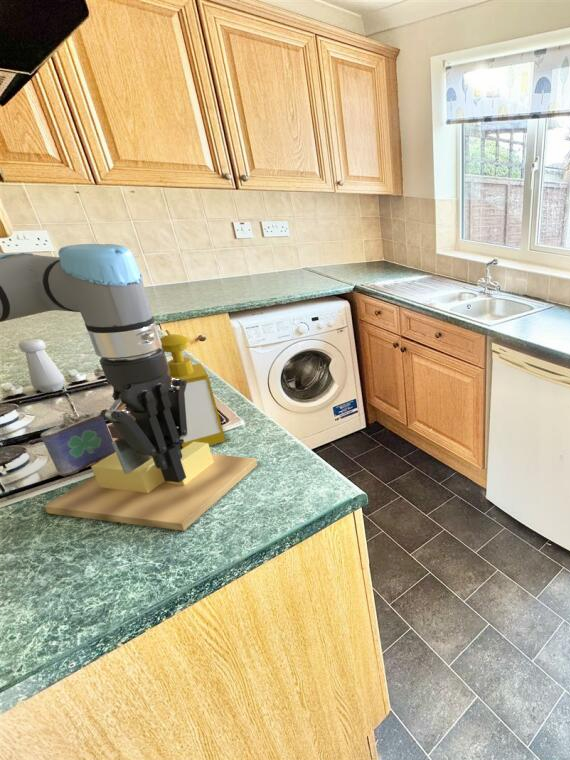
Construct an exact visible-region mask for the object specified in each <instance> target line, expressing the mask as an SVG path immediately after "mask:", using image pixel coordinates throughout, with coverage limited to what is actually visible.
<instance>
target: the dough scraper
mask: <svg viewBox="0 0 570 760" xmlns="http://www.w3.org/2000/svg"><path fill="white" fill-rule="evenodd" d="M129 416H131V417H132V418H133V419H134V420H135V422H136V419H135V417H134V416H132V415H131V413H130V415H129ZM136 423H137V422H136ZM107 427H108V430H109V433H110V435H111V438H112V439H115V440H113V442H112V444H113V447H114V449H115V451H116V454H117V456H118V459H119V461H120V464H121V466H122V469H123V471H124V473H125V474H129V473H130V472H132V471H133V470H135V469H136V468H138V467H139V466H141V465H142V464H144V463H146V462H147V461H149V460H150V459H152V456H147V455H139V454H136V453H135V452H134V450H133V449H132V448H131V446H130V445H129V444H128V443H127V441H126V440H125V439H124V437H123V436H122V435H121V434H120V432H119V431H118V430H117V428H116V427H115V426H114V425H113V423H110V424H109V425H107ZM177 428H178V427H177ZM187 435H188V434H186V435H185V436H181V438H180V439H183V438H184V437H186V436H187Z"/></svg>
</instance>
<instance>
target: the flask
mask: <svg viewBox="0 0 570 760" xmlns="http://www.w3.org/2000/svg"><path fill="white" fill-rule="evenodd" d="M100 413H101V412H97V411H94V412H90V413H88V412H87V413H83V414H82V415H79V416H73V415H72V414H71V412H65V413H63V414H62V415H60V416H59V418H62V419H63V420H62V422H63V423H61V424H58V425H56V426H54V427H51V428H49V429H46V430H45V431H43V432H42V433H40V438H41V440H42V443H43V444H44V446H45V448H46V450H47V452H48V454H49V457H50V459H51V461H52V463H53V465H54V467H55V469H56V471H57V474H58V475H59V476H60V477H67V476H70V475H74V474H76V473H78V472H79V471H81V470H83V469H86V468H88V467H91V466H93V465H94V464H96V463H98V462H99V461H101V460H103V459H105V458H106V457H108V456H110V455H111V454H113V453H115V452H116V451H115V449H114V447H113V444H112V442H113V441H114V440H113V438H112V436H111V433H110V431H109V428H108V425H107V422H106V419H105V418H103V417H101V415H100Z"/></svg>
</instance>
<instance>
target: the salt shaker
mask: <svg viewBox="0 0 570 760" xmlns="http://www.w3.org/2000/svg"><path fill="white" fill-rule="evenodd" d="M18 349H20V351H21V352H22V353H25V358H26V363H27V368H28V374H29V379H30V383H31V385H32V386H33V387H34V388H35V389H37V390H38V391H39V392H40V393H44V394H46V393H54V392H57V391H61V390H63V387H64V384H65V381H66V378H65V376H64V375H63V373H62V372H61V371H60V369H59V368H58V367H57V365H56V364H55V362H54V361H53V360H52V358H51V357H50V355H49V354H48V353H47V351H46V350H45V349H47V345H46V342H44V340H42V339H40V338H31V339H25V340H22V341H20V342H19V343H18Z"/></svg>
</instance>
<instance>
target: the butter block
mask: <svg viewBox="0 0 570 760" xmlns="http://www.w3.org/2000/svg"><path fill="white" fill-rule="evenodd" d="M90 467H91V469H92V472H93V474H94V476H96V479H97V481H98V483H99V485H100V487H102V488H110V489H118V490H126V491H134V492H142V493H149V492H151V491H152V490H153V489H155V488H156V487H157V486H159V485H160V484H162V483H163V482H164V481H165V480H164V477H163V474H162V471H161V469H158V468H157V467H156V466H155V463H154V460H153V458H152V459H150V460H149V461H147V462H146V463H144V464H142V465H141V466H139V467H138V468H136V469H135V470H133V471H132V472H130V473H129V474H125V473H124V471H123V469H122V466H121V464H120V461H119V459H118V456H117V454H116V452H115V453H113V454H111V455H110V456H108V457H106V458H103V459H102V460H101V461H97V462H95V463H94V464H93V465H91V466H90Z"/></svg>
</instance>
